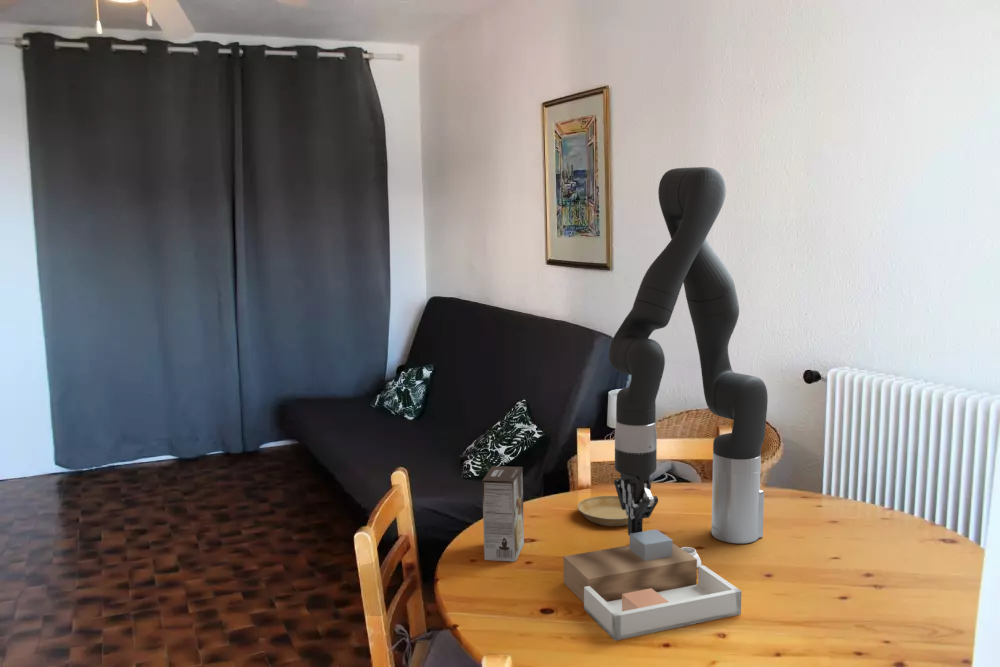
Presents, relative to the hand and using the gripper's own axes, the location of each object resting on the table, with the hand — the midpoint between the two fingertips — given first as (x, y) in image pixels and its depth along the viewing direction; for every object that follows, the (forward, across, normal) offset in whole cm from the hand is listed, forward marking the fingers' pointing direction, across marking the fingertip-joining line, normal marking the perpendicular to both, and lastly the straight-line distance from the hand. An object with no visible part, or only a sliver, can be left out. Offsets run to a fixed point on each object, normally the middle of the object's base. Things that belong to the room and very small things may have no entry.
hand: (635, 536), depth 155 cm
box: (+6, -17, +4) cm, 19 cm away
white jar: (+6, -2, -10) cm, 12 cm away
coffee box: (+6, +16, +20) cm, 26 cm away
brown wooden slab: (+6, -6, +4) cm, 10 cm away
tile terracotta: (+2, -18, +8) cm, 20 cm away
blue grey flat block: (+1, -6, 0) cm, 6 cm away
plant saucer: (+6, +25, -8) cm, 27 cm away
